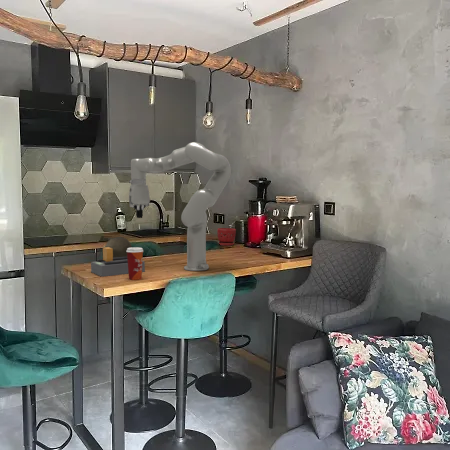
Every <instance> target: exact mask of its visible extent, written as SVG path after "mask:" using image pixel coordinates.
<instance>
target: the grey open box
mask: <svg viewBox="0 0 450 450" xmlns="http://www.w3.org/2000/svg"><path fill="white" fill-rule="evenodd" d="M90 272H91V273H92V274H95V275H97V276H100V277H101V278H102V277H103V278H104V277H110V276H119V275H127V274H128V275H129V273H128V259H127V257H116V258H113V261H110V262H106V261H105V260H103V258H97V259H96V261H91V262H90ZM145 272H146V263H145V261H144V260H142V273H145Z"/></svg>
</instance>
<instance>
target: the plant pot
mask: <svg viewBox="0 0 450 450" xmlns="http://www.w3.org/2000/svg"><path fill="white" fill-rule="evenodd" d="M236 231H237V229H236V228H232V227H231V228H230V227H229V228H228V227H227V228H226V227H218V228H217V231H216V232H217V240H218V242H219V244H220V245H219V244H218V245H219V246H222V247H223V246H225V247H229V246H233V245H234V244H235V242H234V241H235V239H236V234H237V233H236Z"/></svg>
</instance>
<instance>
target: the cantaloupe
mask: <svg viewBox="0 0 450 450" xmlns="http://www.w3.org/2000/svg"><path fill="white" fill-rule="evenodd" d="M106 247H110V248H113V258H116V257H127V252H126V251H127V248H132V244H131V242H130V241H129V239H128V238H125V237H123V236H117V237H112V238H110V239H108V241H107V242H106V245H105V247H104V248H106Z"/></svg>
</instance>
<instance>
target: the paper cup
mask: <svg viewBox="0 0 450 450" xmlns="http://www.w3.org/2000/svg"><path fill="white" fill-rule="evenodd" d="M126 252H127V259H128V273H129V274H128V280H129V281H130V280H132V281H135V280H136V281H139V280H141V279H142V277H143V276H142V274H143V272H142V261H143V255H144V254H143V253H144V249H143V248H142V247H137V246H136V247H132V248H127V251H126Z"/></svg>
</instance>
